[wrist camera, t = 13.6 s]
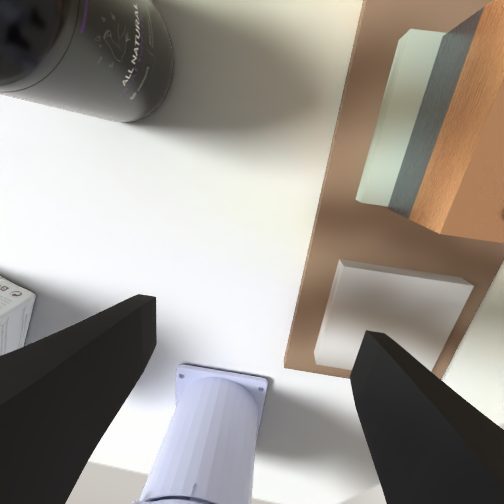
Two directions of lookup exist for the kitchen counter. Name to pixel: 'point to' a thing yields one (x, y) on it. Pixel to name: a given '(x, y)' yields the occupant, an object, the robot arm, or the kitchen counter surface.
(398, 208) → the plate
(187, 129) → the kitchen counter surface
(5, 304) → the skincare box
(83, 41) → the supplement bottle
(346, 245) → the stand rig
